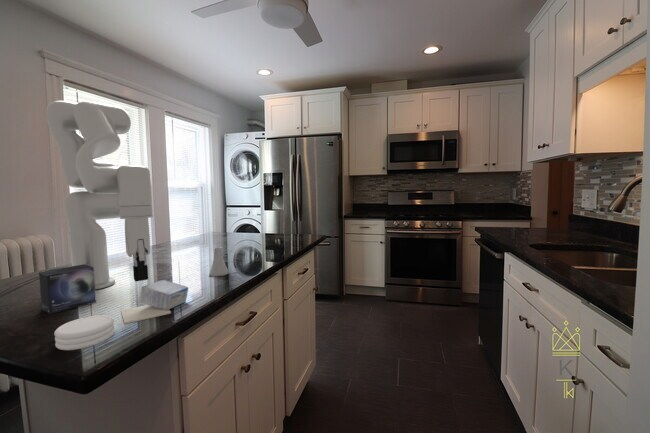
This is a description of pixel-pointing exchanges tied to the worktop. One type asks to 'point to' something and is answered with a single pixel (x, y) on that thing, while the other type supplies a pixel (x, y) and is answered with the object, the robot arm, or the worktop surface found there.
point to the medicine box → (163, 294)
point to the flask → (218, 264)
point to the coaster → (84, 332)
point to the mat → (142, 313)
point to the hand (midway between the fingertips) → (141, 279)
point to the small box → (67, 288)
